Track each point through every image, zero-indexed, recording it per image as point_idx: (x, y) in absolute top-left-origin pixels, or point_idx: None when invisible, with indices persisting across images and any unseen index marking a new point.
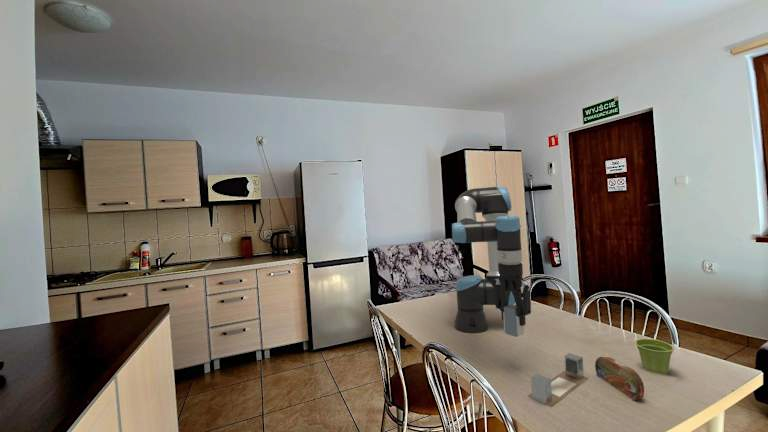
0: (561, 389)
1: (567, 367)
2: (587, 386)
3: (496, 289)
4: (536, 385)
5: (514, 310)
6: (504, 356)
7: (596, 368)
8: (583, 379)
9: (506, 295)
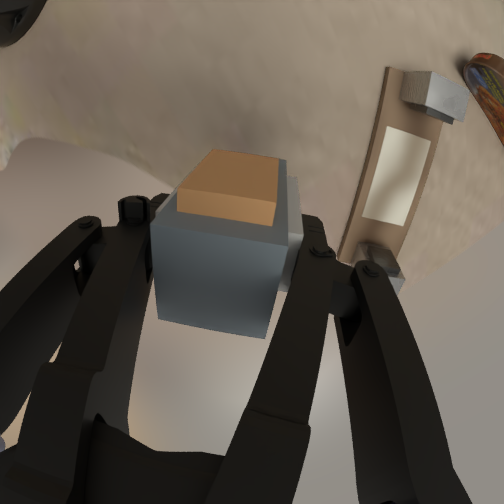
0: (403, 190)
1: (418, 111)
2: None
3: (22, 396)
4: None
5: (264, 332)
6: (177, 66)
7: (470, 63)
8: None
9: (124, 379)
